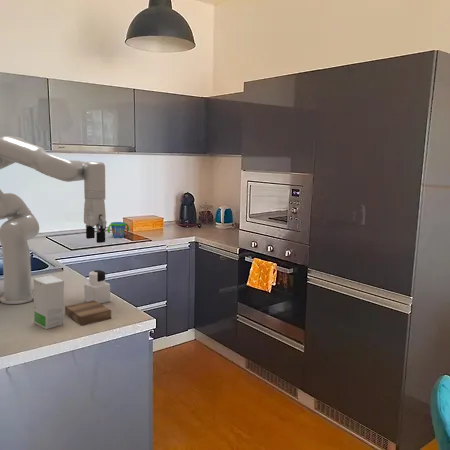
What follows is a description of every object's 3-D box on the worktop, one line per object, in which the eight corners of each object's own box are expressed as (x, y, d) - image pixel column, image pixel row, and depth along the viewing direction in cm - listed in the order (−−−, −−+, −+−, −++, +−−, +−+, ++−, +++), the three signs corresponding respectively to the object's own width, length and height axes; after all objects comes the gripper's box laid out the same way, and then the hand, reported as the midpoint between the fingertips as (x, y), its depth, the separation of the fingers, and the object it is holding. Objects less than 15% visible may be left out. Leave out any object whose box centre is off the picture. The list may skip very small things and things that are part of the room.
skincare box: (33, 323, 144) (31, 278, 142) (51, 318, 149) (50, 274, 147) (46, 330, 139) (45, 283, 137) (65, 324, 144) (64, 279, 142)
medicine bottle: (99, 297, 173) (99, 268, 171) (110, 301, 169) (110, 271, 167) (84, 301, 168) (83, 271, 166) (94, 305, 163) (94, 274, 161)
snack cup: (125, 235, 310) (125, 221, 308) (132, 237, 302) (132, 223, 300) (104, 236, 301) (104, 222, 299) (110, 239, 292) (110, 224, 291)
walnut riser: (65, 314, 153) (65, 306, 153) (94, 308, 160) (94, 300, 160) (81, 325, 144) (80, 317, 143) (111, 318, 151) (111, 310, 151)
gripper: (76, 193, 164) (77, 237, 167) (94, 197, 151) (95, 245, 154) (95, 193, 169) (95, 235, 172) (114, 197, 156) (114, 243, 158)
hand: (95, 240), depth 163 cm, fingers open, 9 cm apart
